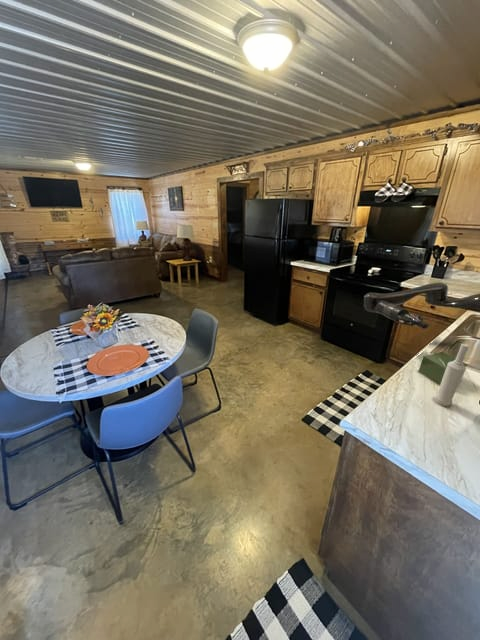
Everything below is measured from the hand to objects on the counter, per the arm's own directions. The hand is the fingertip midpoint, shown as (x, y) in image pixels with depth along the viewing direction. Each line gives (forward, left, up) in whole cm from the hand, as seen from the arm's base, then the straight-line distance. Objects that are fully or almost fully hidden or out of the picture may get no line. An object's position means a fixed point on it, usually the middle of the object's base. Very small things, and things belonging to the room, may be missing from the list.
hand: (426, 326), depth 117 cm
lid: (+4, +11, -11) cm, 16 cm away
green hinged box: (+4, +11, -19) cm, 22 cm away
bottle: (+22, +18, -19) cm, 34 cm away
